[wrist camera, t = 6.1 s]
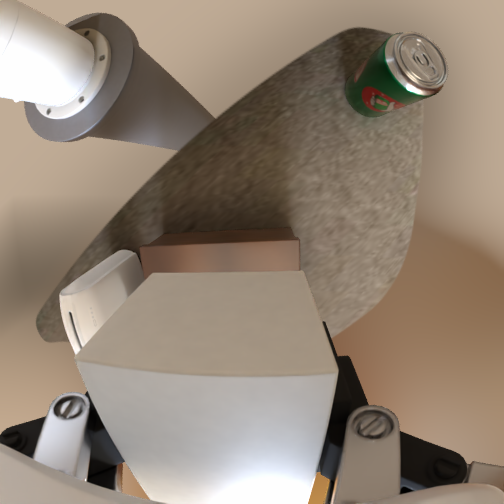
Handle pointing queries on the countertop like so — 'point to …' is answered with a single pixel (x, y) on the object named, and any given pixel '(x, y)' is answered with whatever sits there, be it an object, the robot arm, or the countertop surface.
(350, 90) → the soda can
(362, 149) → the countertop surface
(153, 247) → the storage box
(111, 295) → the photo printer
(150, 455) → the white box
